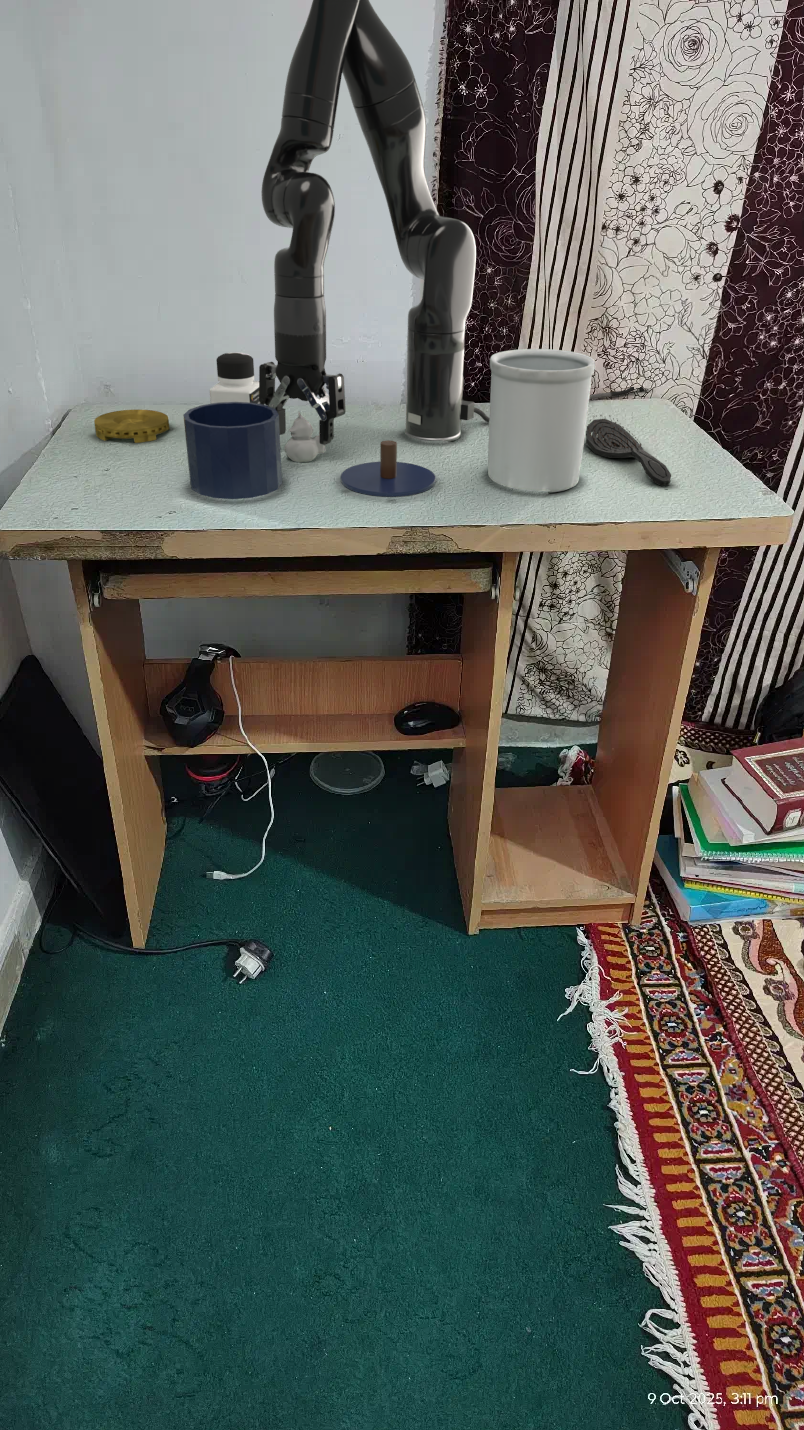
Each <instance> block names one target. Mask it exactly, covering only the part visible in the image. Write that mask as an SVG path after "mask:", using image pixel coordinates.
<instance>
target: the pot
mask: <svg viewBox="0 0 804 1430" xmlns="http://www.w3.org/2000/svg"><path fill="white" fill-rule="evenodd" d="M182 416H183V424H184V435H185V444H186V456H187V465H188V475H189V485H190V489H191V490H192V491H193V492H195V493H196V494H199V495H201V496H203V497H209V498H213V499H223V500H241V499H253V498H257V497H260V496H266V495H269V494H272V493H273V492H275V491H278V489H279V488H280V487H281V486H282V484H283V473H282V454H281V453H282V452H281V451H282V450H281V435H280V429H279V414H278V412H277V411H276V409H274V408H271V407H269V406H267V405H265V404H264V405H262V404H256V403H248V402H220V403H212V404H211V403H206V404H201V405H197V406H194V407H192V408H190V409H188V410H187V411H186V412H184V413H183V414H182Z"/></svg>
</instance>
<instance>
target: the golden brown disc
mask: <svg viewBox="0 0 804 1430" xmlns="http://www.w3.org/2000/svg"><path fill="white" fill-rule="evenodd" d="M169 420H170V419H169V416H168V415H167V414H166V413H164V412H161V411H158V410H151V409H122V410H121V409H120V410H114V411H110V412H106V413H102V414H101V415H98V416H96V417H95V418H94V421H93V423H94V430H95V435H96V437H97V438H98V439H100V440H102V441H104V442H105V441H108V440H112V439H133V441H134V444H137V443H138V444H140V443H146V442H153V441H157V436H158V435H160V434H163V433H165V432H166V431H170V421H169Z"/></svg>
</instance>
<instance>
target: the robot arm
mask: <svg viewBox="0 0 804 1430" xmlns="http://www.w3.org/2000/svg"><path fill="white" fill-rule="evenodd" d="M295 46H296V47H295V49H294V52H293V55H292V57H291V61H290V64H289V67H288V72H287V76H286V81H285V85H284V86H285V89H284V95H283V103H282V111H281V119H280V129H279V133H278V134H277V135H278V136H277V138H276V140H275V143H274V145H273V148H272V150H271V153H270V157H269V160H268V162H267V165H266V168H265V171H264V173H263V174H264V175H263V178H262V183H261V203H262V208H263V211H264V214H265V216H266V217H267V219H268V220H269V221H270V222H271V223H272V224H274V225H276V226H278V227H282V228H288V229H292V233H291V238H290V242H289V246H288V247H284V248H281V249H279V250H278V251H277V252H276V253H275V256H274V260H273V261H274V263H273V264H274V265H273V273H274V275H273V276H274V277H273V278H274V279H273V280H274V304H273V332H274V333H273V335H274V358H275V360H276V362H277V363H276V364H275V362H274V361H267V362H265V363H262V364H259V367H258V373H259V374H258V381H259V402H260V403H261V404H264V405H267V406H269V407H271V408H274V409H276V411H277V412H278V414H279V429H280V436H281V435H284V434H286V431H287V422H286V408H284V407H285V405H286V403H287V402H288V400H289V399H292V400H295V399H298V400H300V401H303V402H308V403H309V404H310V407H311V408H313V409H315V412H316V413H317V415H318V418H319V420H318V424H319V425H318V429H319V430H318V431H319V435H318V436H319V439H320V444H322V445H325V446H326V445H328V444H331V442H332V440H334V437H335V432H334V431H335V422H334V421H335V419H336V418H339V417H341V416H344V415H345V414H346V391H345V389H346V388H345V376H344V374H343V373H336V374H328V373H327V371H326V368H325V366H326V362H327V361H326V360H327V309H326V301H325V269H324V268H325V267H324V266H325V261H326V258H327V257H326V256H327V253H328V249H329V244H330V240H331V234H332V231H333V226H334V220H335V216H336V215H335V214H336V206H335V205H336V204H335V202H336V201H335V197H334V192H333V190H332V188H331V185H330V184H329V183H330V182H329V181H328V180H327V179H326V178H325V177H324V176H322V175H321V174H319V173H316V172H310V168H311V166H312V162H313V160H314V159H315V158H317V157H319V156H321V155H323V154H327V152H328V151H329V150H330V148H331V145H332V142H333V137H334V131H335V130H334V129H335V124H336V117H337V110H338V102H339V96H340V88H341V83H342V82H341V81H342V76H343V79H344V81H345V84H346V87H347V90H348V93H349V97H350V100H351V103H352V107H353V109H354V113H355V115H356V118H357V121H358V123H359V126H360V130H361V132H362V135H363V137H364V140H365V142H366V145H367V148H368V151H369V153H370V157H371V159H372V162H373V165H374V169H375V171H376V174H377V178H378V180H379V183H380V185H381V188H382V191H383V194H384V197H385V201H386V204H387V208H388V213H389V216H390V220H391V225H392V229H393V233H394V238H395V242H396V246H397V249H398V252H399V256H400V259H401V261H402V263H403V265H404V267H405V268H406V270H407V271H408V272H409V273H410V274H411V275H412V276H414V277H416V278H418V279H420V280H423V287H422V296H421V300H420V302H419V303H418V304H416V305H413V306H412V307H410V309H409V310H408V313H407V336H406V337H407V342H406V343H407V344H406V345H407V346H406V349H407V350H406V389H405V394H406V395H405V428H404V434H405V435H406V436H407V437H409V438H411V439H415V440H420V441H424V442H425V441H426V442H442V441H443V442H448V443H450V442H454V441H457V440H458V439H459V438H460V437H461V431H462V421H468V422H469V420H471V419H473V418H474V417H475V414H477V415H479V417H481V418H482V420H483V421H485V422H486V423H488V424H489V417H490V416H488V415H487V414H485V412H484V411H482V409H480V408H477V407H475V402H474V401H468V400H464V399H463V392H464V362H465V359H464V358H465V340H466V339H465V338H466V323H467V318H468V316H469V313H470V311H471V308H472V304H473V296H474V295H473V293H474V285H475V284H474V283H475V273H476V263H477V262H476V261H477V246H476V239H475V236H474V234H473V231H472V229H471V228H470V227H469V225H468V224H467V223H466V222H465V221H462V220H460V219H458V218H454V217H453V218H452V217H449V216H442V215H440V213H439V212H438V209H437V207H436V204H435V202H434V199H433V196H432V193H431V191H430V187H429V184H428V181H427V176H426V171H425V159H426V157H425V156H426V143H427V118H426V112H425V108H424V105H423V104H424V103H423V100H422V97H421V94H420V91H419V86H418V84H417V80H416V78H415V73H414V71H413V67H412V66H411V63H410V61H409V60H408V58H407V56H406V54H405V53H404V51H403V49H402V47H401V46H400V44H399V43H398V41H397V40H396V39H395V37H394V35H392V33H391V32H390V30H389V29H388V28H387V26H386V25H385V24H384V22H383V21H382V20H381V18H380V17H379V15H378V14H377V12H376V10H375V9H374V7H373V5H372V3H371V1H370V0H312V1H311V5H310V9H309V13H308V16H307V17H306V22H305V25H304V26H303V29H302V32H301V34H300V37H299V39H298V41H297V45H295ZM276 378H277V379H278V382H279V383H280V384H279V385H278V387H277V388H276ZM325 385H326V386H325ZM324 386H325V387H324ZM326 389H327V390H328V391H326ZM635 390H639V392H641V393H643V392H645V391H646V390H645V388H644V387H643V386H642V387H640V388H636V389H634V387H632V386H631V387H629V388H627V389H624V390H618V391H617V390H616V391H609V392H608V391H607V392H601V393H599V392H598V393H593V394H590V396H589V400H593V399H601V398H611V397H618V396H625V395H628V394H630V393H632V392H634V391H635ZM327 392H328V393H327ZM318 397H319V398H318Z"/></svg>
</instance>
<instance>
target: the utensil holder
mask: <svg viewBox="0 0 804 1430" xmlns="http://www.w3.org/2000/svg"><path fill="white" fill-rule="evenodd" d="M489 358H490V359H489V368H490V371H491V374H490V375H491V377H490V398H489V399H490V400H489V416H488V417H489V423H488V443H487V444H488V445H487V447H488V449H487V458H488V459H487V475H488V477H489V479H490V480H492V481H493V482H495V483H496V484H498V485H501V486H504V487H506V488H511V489H516V490H521V491H529V492H530V491H531V492H547V493H548V494H549V493H557V492H558V493H559V492H564V491H566V490H567V491H568V490H569V489H572V488H574V487H575V486H577V484H578V483H579V480H580V474H581V466H582V462H583V461H582V460H583V452H584V446H585V445H584V444H585V438H586V429H587V419H588V412H589V402H590V399H589V396H590V395H591V386H592V377H593V374H594V373H595V369H596V361H595V359H594V358H593V357H592V356H589V355H587V354H583V353H580V352H575V351H570V350H562V349H550V348H526V349H525V348H523V349H511V350H504V351H499V352H496V353H494V354H492V355H491V356H490V357H489Z"/></svg>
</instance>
